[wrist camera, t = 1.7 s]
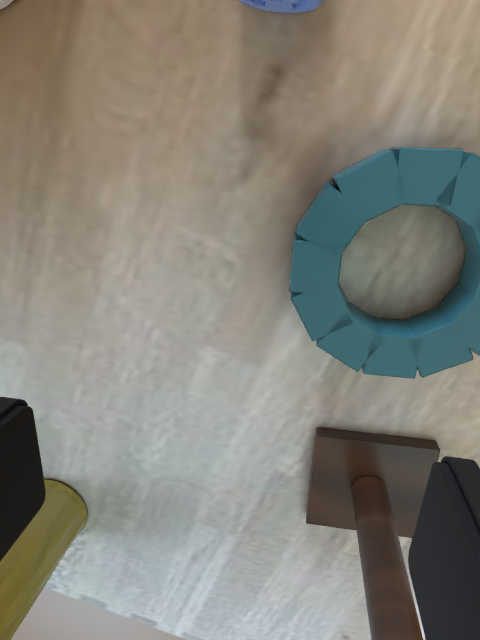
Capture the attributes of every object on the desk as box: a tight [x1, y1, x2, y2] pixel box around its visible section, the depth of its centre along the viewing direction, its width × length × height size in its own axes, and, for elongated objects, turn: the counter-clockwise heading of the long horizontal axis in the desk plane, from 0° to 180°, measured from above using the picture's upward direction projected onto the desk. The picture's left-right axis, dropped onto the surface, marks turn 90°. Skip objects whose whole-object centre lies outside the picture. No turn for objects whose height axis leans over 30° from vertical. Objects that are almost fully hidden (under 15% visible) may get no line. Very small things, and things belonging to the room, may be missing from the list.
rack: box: [306, 428, 440, 640], centre depth 24 cm, size 8×8×15 cm
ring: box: [289, 147, 480, 378], centre depth 23 cm, size 12×12×3 cm
